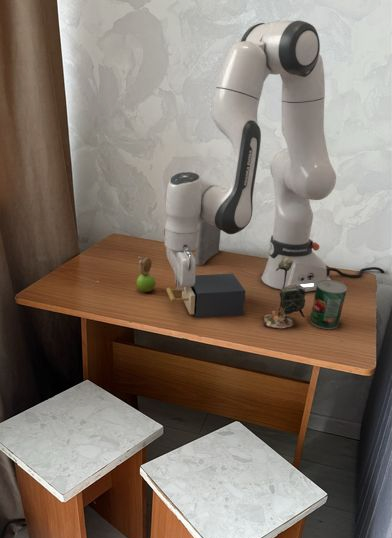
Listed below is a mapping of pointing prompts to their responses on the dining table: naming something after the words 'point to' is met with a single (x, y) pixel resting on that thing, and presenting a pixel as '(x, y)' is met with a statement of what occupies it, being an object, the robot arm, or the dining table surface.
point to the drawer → (185, 297)
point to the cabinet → (218, 295)
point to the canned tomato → (328, 304)
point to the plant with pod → (287, 300)
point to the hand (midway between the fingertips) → (179, 287)
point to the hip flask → (207, 243)
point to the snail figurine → (145, 276)
